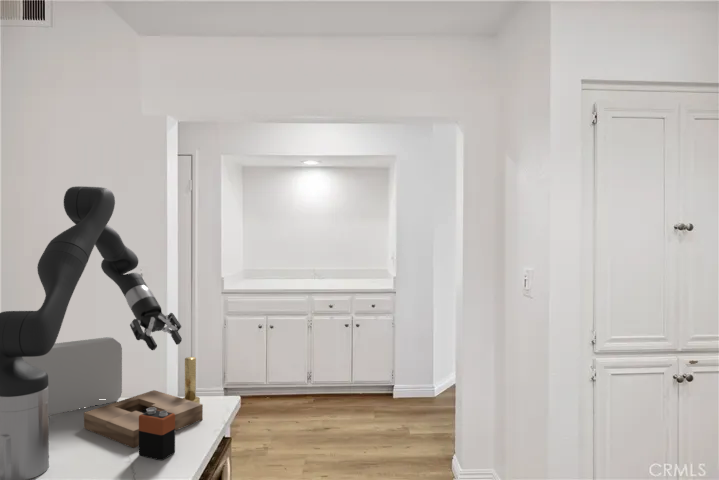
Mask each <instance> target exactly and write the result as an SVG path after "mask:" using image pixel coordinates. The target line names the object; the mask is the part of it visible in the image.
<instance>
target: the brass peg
mask: <svg viewBox="0 0 719 480" xmlns="http://www.w3.org/2000/svg"><path fill="white" fill-rule="evenodd" d="M196 369H197V358H196V357H194V356H189V357H188V356H187V357H185V358H184V397H183V399H186V400H189V401H193V402H196V403H200V404H201V402H200V401H201V400H200V399H201V398H200V396H197V390H196V389H197V387H196V386H197V385H196V384H197V383H196V382H197V378H196V377H197V376H196V375H197V370H196Z"/></svg>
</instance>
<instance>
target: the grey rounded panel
mask: <svg viewBox="0 0 719 480" xmlns="http://www.w3.org/2000/svg"><path fill="white" fill-rule="evenodd" d="M121 344H122V343H120V342H119V341H118V340H116V339H115V338H114V337H111V336H109V337H108V336H107V337H98V338H89V339H82V340H81V339H80V340H74V341H73V340H72V341H65V342H64V341H63V342H57V343H56V342H55V344H54V346H53V347H52V349H51V350H50V351H49V352H48V353H47V354H45V355H43V356H36V357H22V358H23V360H24V361H26V362H27V363H28V364H30V365H31V366H33V367H36V368H39V369H42V370H44V371H45V372H47V374H48V396H49V400H48V403H49V416H53V415H58V414H63V412H64V413H68V412H67V411H69V412H72V411H71V410H74V411H77V410H76V409H79V408H84V407H89V408H91V407H90V406H94V407H96V406H95V405H99V406H102V405H101V404H104V405H106V404H105V403H109V404H112V403H115V402H118V401H119V399H120V398H121V397H122V393H123V347H122V345H121ZM99 399H106V400H99ZM84 409H85V408H84ZM79 410H80V409H79Z"/></svg>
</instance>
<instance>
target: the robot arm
mask: <svg viewBox="0 0 719 480" xmlns="http://www.w3.org/2000/svg"><path fill="white" fill-rule="evenodd" d="M115 204H116V200H115V195H114V193H113V191H112V190H110V189H109V188H106V187H102V186H101V187H99V186H84V185H83V186H82V185H81V186H71V187H69V188H68V189H67V190H66V191H65V193H64V197H63V208H64V211H65V214H66V215H67V217H68V219H70V220H71V222H72V223H74V225H73V226H71V227H69V228H68V229H66V230H64V231H62V232H61V233H59V234H58V235H57V236H55V237H53V238H52V239H51V240H50V241H49V243H48V244H47V245H46V247H45V249H44V251H43V253H42V255H41V256H40V258H39V259H38V263H37V267H36V268H37V269H36V270H37V274H38V278H39V281H40V283H41V285H42V288H43V290H44V293H45V294H44V295H45V298H44V300H43V303H42V305H41V306H40V307H39V308H38V309H37V310H8V311H6V310H5V311H1V312H0V480H31V479H34V478H36V477H39V476H40V475H41V474H44V473H45V472H47V470H48V469H49V467H50V466H49V465H50V453H49V452H50V448H49V445H50V443H49V441H50V438H49V437H50V436H49V434H50V433H49V431H50V429H49V428H50V427H49V416H50V415H49V403H48V400H49V396H48V374H47V372H45V371H44V370H42V369H39V368H36V367H33V366H31V365H30V364H28V363H27V362H26V361H24V360H23V358H22V357H36V356H43V355H45V354H47V353H48V352H49V351H50V350H51V349H52V347H53V346H54V344H55V343H56V341H57V339H58V337H59V334H60V331H61V328H62V325H63V322H64V319H65V316H66V313H67V310H68V307H69V305H70V301H71V299H72V296H73V293H74V292H75V289H76V288H77V285H78V283H79V281H80V279H81V277H82V275H83V273H84V271H85V268H86V266H87V265H88V262H89V259H90V257H91V255H92V251H93V250H94V248H95V247H96V249H97V251H98V252H99V254H100V255H101V257H102V258H103V259H102V261H101V262H100V263H101V264H100V266H101V267H100V268H101V270H102V272H103V273H104V274H105V275H106V276H107V277H108V278H109V279H110V280H111V281H113V282H114V283H115V285H117V287H118V288H119V289H120V291H121V293H122V294H123V296H124V298H125V300H126V303H127V305H128V307H129V309H130V310H131V312H132V313H133V316H134V317H135V318H133V319H132V321H131V322H130V324H129V326H130V329H131V331H132V333H133V335H134V337H135V339H136V340H137V341H141V340H142V341H144V342H145V344H146V345H147V347H148V349H150V351H155V350H156V349H157V347H158V344H157V343H156V341H155V339H154V338H153V336H152V335H151V334H152V333H155V332H160V331H161V332H164V333H167V334H169V335H170V337H171V338H172V340H173V341H174V343H175V344H176V346H177V345H180V344H181V343H182V337H181V334H180V333H179V331H180V329H181V328H182V324H181V323H180V322H179V320H178V318H177V317H176V316H175V314H174V313H172V312H170V313H169V314H166V315H165V314H164V313H163V312H162V307H161V306H160V304H159V302H158V299H156V297H155V295H154V293H153V292H152V290H151V289H150V288H149V287H148V285H147V283H146V282H145V280H144V278H143V277H142V275H141V274H140V273H139V272H131V271H134V270H135V269H136V268H137V267H138V265H139V258H138V256H137V254H136V253H135V252H134V251H133V250H131V249H130V248H129V247H128V246H126V245H125V243H124V241H123V240H122V238H121V236H120V234H119V232H117V231H116V230H115V229H114V228H113V227H111V226H109V225H108V223H109V221H110V219H111V218H112V216H113V214H114V209H115ZM129 272H131V273H129ZM165 326H166V327H165ZM142 328H143V329H144V330H143V329H142Z"/></svg>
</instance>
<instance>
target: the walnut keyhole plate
mask: <svg viewBox="0 0 719 480" xmlns="http://www.w3.org/2000/svg"><path fill="white" fill-rule="evenodd" d="M183 398H184V397H183ZM183 398H182V397H178V396H175V395H172V394H170V393H166V392H162V391H158V390H154V389H153V390H150V391H148V392H144V393H141V394H137V395H135V396H131V397H129V398H125V399H123V400H117V401H115V402H113V403H109V404H105V405H102V406H101V407H97V408H94V409H91V410H88V411H85V412H83V429H85V430H87V431H90V432H93V433H95V434H97V435H100V436H103V437H104V438H107V439H110V440H113V441H115V442H117V443H120V444H121V445H124V446H128V447H130V448H133V449H135V448H137V447H139V415H141V414H143V413H144V412H142V411H144V410H145V411H146V409H148V408H154V407H155V408H156V410H159V411H167V412H170V413H174V414H175V432H176V431H178V430H180V429H183V428H185V427H188V426H190V425H193V424H194V423H197V422H199V421H200V422H201V421H202V420H203V415H204V414H203V405H204V404H203V403H201V402H200V403H196V402H193V401H189V400H186V399H183Z"/></svg>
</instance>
